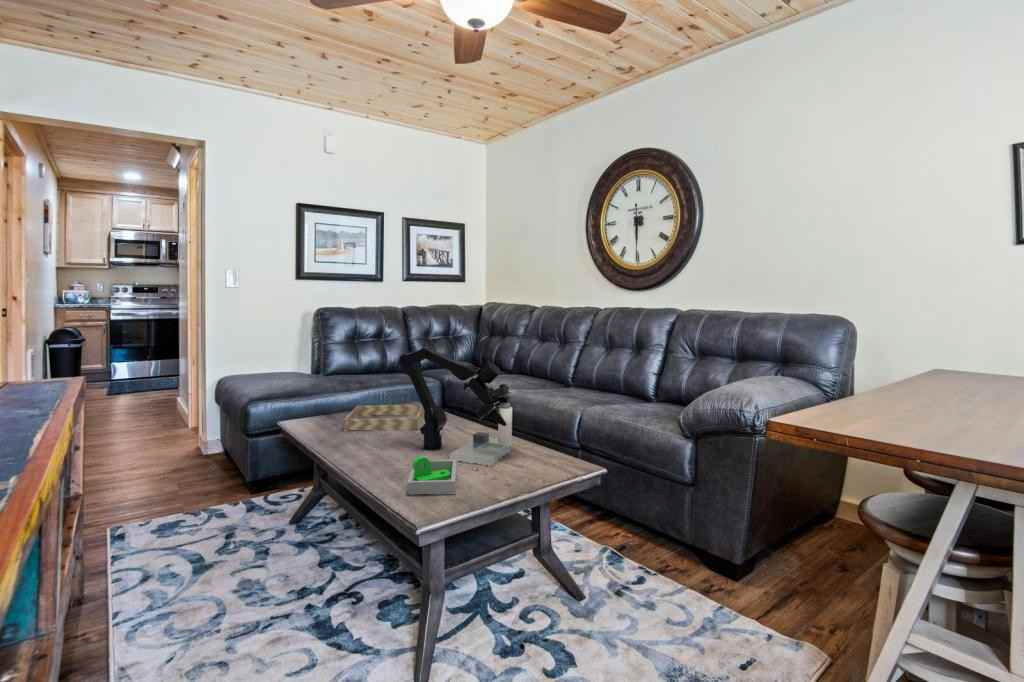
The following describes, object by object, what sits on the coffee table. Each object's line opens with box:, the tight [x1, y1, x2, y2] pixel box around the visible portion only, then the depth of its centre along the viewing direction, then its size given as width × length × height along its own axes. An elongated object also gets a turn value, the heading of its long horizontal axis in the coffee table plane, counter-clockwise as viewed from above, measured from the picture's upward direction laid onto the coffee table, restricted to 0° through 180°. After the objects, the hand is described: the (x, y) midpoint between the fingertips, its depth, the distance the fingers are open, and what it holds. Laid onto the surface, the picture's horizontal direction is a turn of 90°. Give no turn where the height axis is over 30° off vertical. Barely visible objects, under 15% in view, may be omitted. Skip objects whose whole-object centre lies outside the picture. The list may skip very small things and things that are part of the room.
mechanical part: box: [411, 456, 452, 481], centre depth 174 cm, size 12×6×8 cm, turn 123°
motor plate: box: [449, 431, 515, 467], centre depth 201 cm, size 16×22×6 cm
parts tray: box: [406, 459, 458, 495], centre depth 172 cm, size 14×20×4 cm
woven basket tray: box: [343, 404, 424, 431], centre depth 248 cm, size 32×28×5 cm
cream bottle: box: [497, 402, 513, 444], centre depth 196 cm, size 5×5×14 cm
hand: (508, 423), depth 196 cm, fingers closed on cream bottle, 5 cm apart
